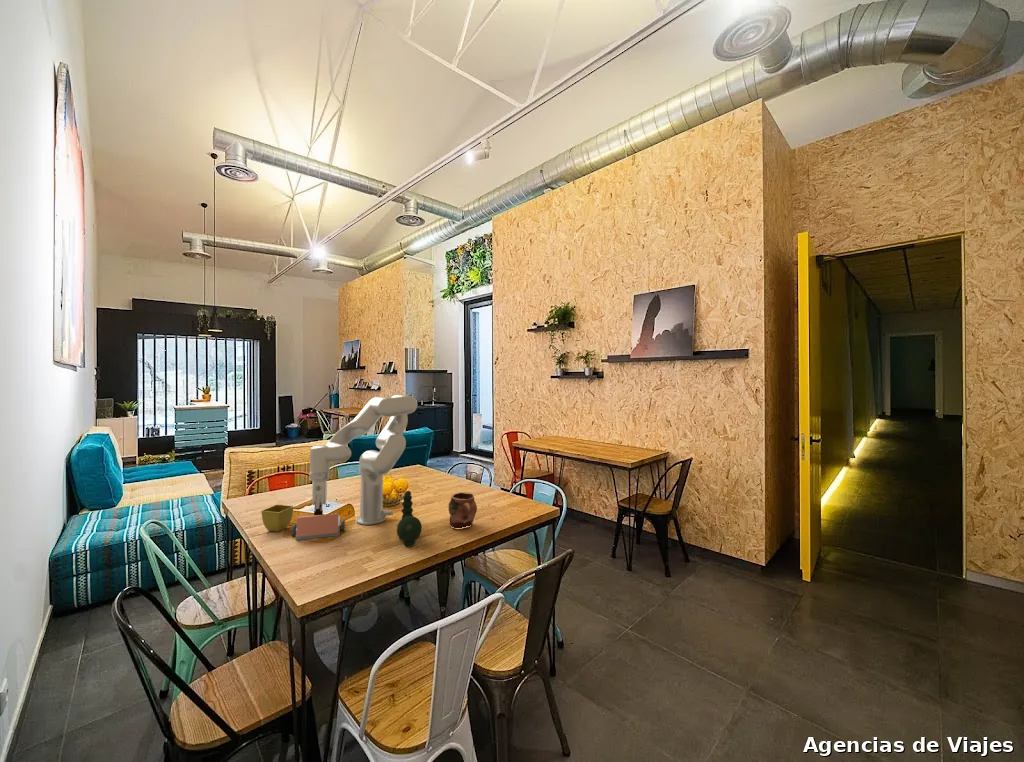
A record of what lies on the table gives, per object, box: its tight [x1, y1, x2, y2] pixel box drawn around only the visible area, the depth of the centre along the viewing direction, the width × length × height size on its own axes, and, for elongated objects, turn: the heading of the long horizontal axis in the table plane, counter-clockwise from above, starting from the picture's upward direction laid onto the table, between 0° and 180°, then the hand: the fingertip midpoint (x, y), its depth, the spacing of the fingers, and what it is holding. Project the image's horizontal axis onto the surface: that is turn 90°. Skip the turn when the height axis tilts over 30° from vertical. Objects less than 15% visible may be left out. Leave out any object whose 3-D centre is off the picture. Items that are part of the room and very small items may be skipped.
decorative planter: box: [448, 492, 478, 528], centre depth 185 cm, size 20×12×14 cm, turn 29°
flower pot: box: [260, 504, 294, 532], centre depth 178 cm, size 9×9×9 cm
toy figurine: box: [396, 490, 423, 547], centre depth 169 cm, size 9×19×25 cm
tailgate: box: [295, 512, 340, 539], centre depth 169 cm, size 1×16×8 cm, turn 111°
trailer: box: [291, 515, 346, 541], centre depth 177 cm, size 16×20×4 cm
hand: (318, 519), depth 174 cm, fingers closed
